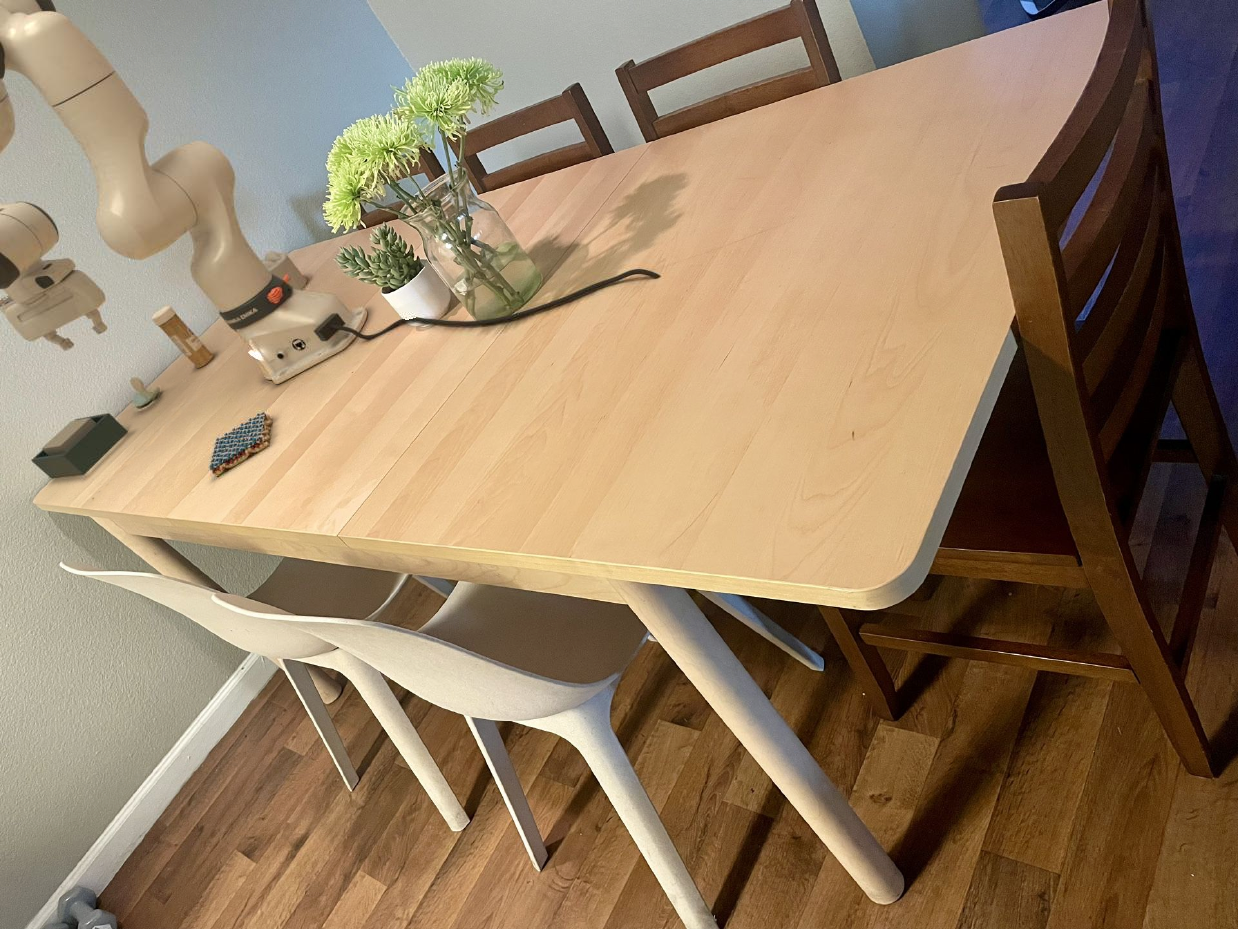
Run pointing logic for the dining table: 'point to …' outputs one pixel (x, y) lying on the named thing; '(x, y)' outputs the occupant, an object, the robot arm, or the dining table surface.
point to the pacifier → (142, 394)
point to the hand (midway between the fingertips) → (86, 339)
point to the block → (68, 436)
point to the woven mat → (240, 443)
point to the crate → (83, 449)
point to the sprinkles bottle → (182, 336)
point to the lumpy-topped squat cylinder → (284, 269)
